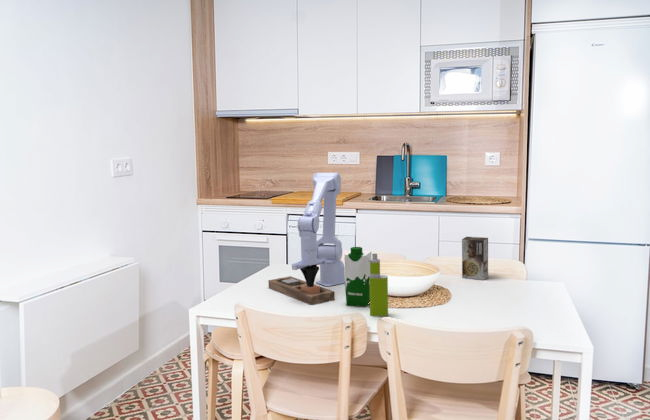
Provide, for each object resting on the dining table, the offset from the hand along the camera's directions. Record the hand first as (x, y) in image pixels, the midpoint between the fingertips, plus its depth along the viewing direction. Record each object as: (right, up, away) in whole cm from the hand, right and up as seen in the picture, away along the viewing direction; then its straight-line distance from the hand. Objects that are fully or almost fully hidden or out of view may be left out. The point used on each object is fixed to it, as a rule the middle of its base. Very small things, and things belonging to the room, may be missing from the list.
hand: (310, 286), depth 204 cm
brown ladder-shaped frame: (-4, -4, +6) cm, 8 cm away
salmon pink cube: (0, -3, 0) cm, 3 cm away
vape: (+23, -7, -21) cm, 32 cm away
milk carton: (+17, -5, -8) cm, 20 cm away
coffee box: (+66, 0, +23) cm, 70 cm away
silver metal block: (-8, -3, +12) cm, 15 cm away
